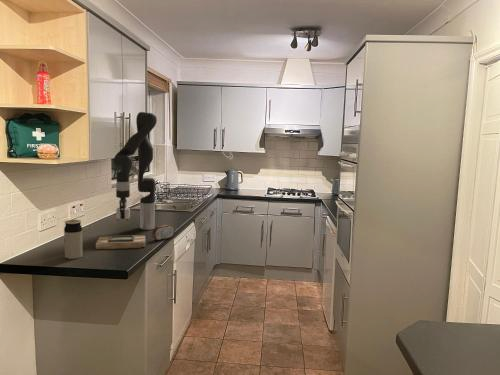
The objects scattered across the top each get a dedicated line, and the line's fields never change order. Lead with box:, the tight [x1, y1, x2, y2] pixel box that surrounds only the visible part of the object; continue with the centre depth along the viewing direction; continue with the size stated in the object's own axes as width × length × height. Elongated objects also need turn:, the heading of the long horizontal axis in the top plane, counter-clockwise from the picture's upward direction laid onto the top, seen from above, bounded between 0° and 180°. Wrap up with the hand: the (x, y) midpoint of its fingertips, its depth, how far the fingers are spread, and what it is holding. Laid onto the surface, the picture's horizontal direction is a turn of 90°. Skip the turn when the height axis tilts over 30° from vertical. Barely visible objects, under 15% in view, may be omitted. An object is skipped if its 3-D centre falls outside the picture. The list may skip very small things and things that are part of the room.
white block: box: [115, 207, 131, 221], centre depth 231 cm, size 5×7×7 cm
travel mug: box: [63, 219, 84, 260], centre depth 192 cm, size 8×8×18 cm
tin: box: [151, 223, 175, 241], centre depth 232 cm, size 15×3×8 cm, turn 141°
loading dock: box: [95, 234, 146, 250], centre depth 217 cm, size 15×25×4 cm, turn 103°
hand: (123, 217), depth 231 cm, fingers closed on white block, 5 cm apart
